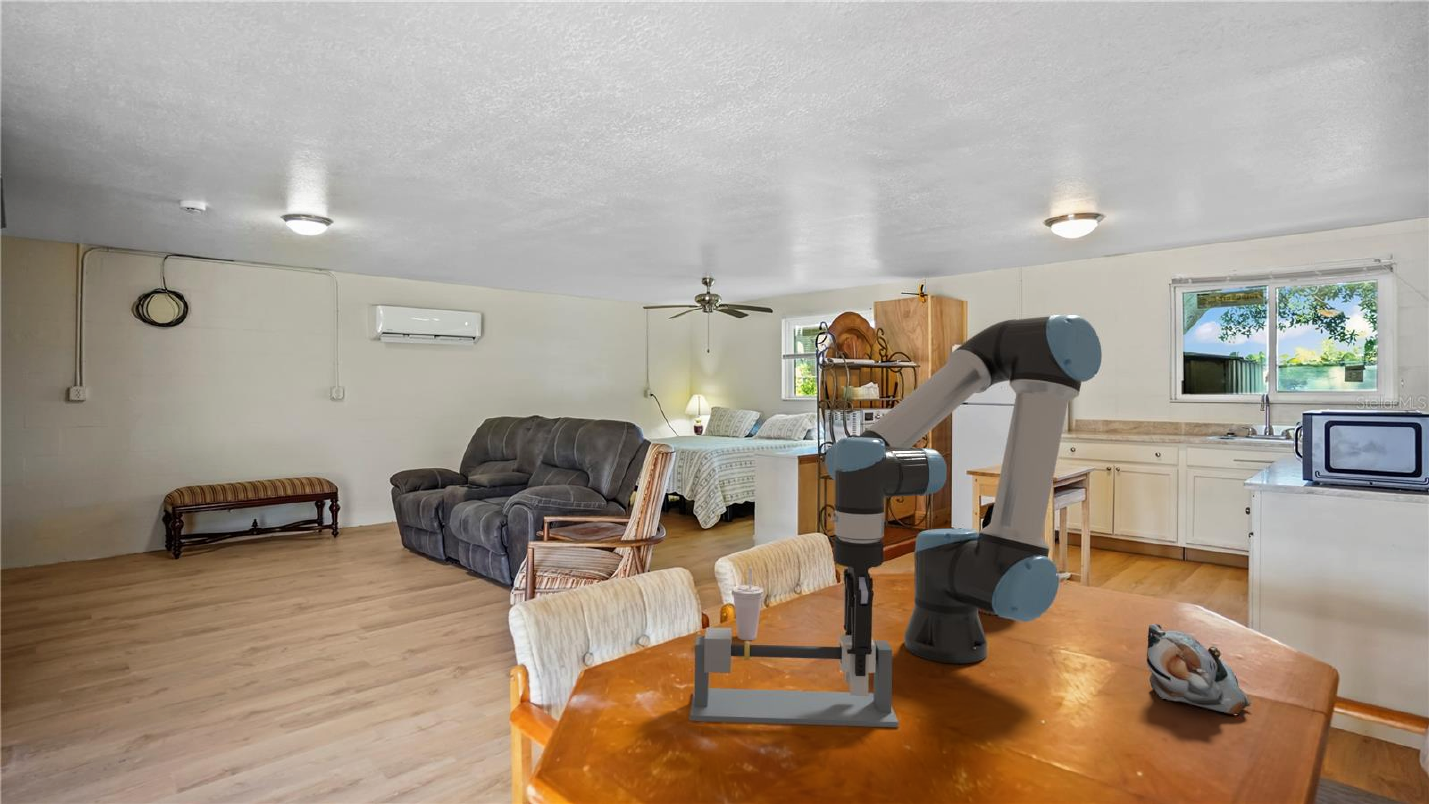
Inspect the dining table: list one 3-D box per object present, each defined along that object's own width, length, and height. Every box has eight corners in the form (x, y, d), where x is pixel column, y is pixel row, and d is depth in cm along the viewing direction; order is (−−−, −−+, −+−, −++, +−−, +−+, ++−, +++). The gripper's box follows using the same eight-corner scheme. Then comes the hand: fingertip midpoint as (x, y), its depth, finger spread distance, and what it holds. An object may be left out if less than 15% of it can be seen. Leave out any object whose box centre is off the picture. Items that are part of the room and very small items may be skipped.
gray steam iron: (1268, 719, 111) (1250, 649, 107) (1189, 744, 113) (1168, 675, 109) (1207, 656, 125) (1189, 592, 122) (1137, 679, 127) (1117, 616, 123)
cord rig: (885, 698, 118) (886, 627, 117) (898, 727, 108) (899, 649, 107) (694, 692, 119) (695, 622, 119) (689, 720, 109) (690, 644, 109)
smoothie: (760, 644, 142) (761, 572, 142) (728, 641, 143) (729, 570, 143) (765, 633, 148) (765, 564, 148) (734, 630, 150) (734, 562, 149)
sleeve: (870, 662, 115) (871, 635, 115) (875, 672, 111) (875, 645, 110) (838, 661, 115) (839, 635, 115) (842, 671, 111) (842, 644, 111)
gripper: (828, 526, 121) (826, 665, 122) (841, 550, 104) (838, 712, 104) (873, 527, 121) (871, 667, 121) (894, 551, 104) (891, 713, 104)
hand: (856, 687), depth 113 cm, fingers closed on sleeve, 4 cm apart
